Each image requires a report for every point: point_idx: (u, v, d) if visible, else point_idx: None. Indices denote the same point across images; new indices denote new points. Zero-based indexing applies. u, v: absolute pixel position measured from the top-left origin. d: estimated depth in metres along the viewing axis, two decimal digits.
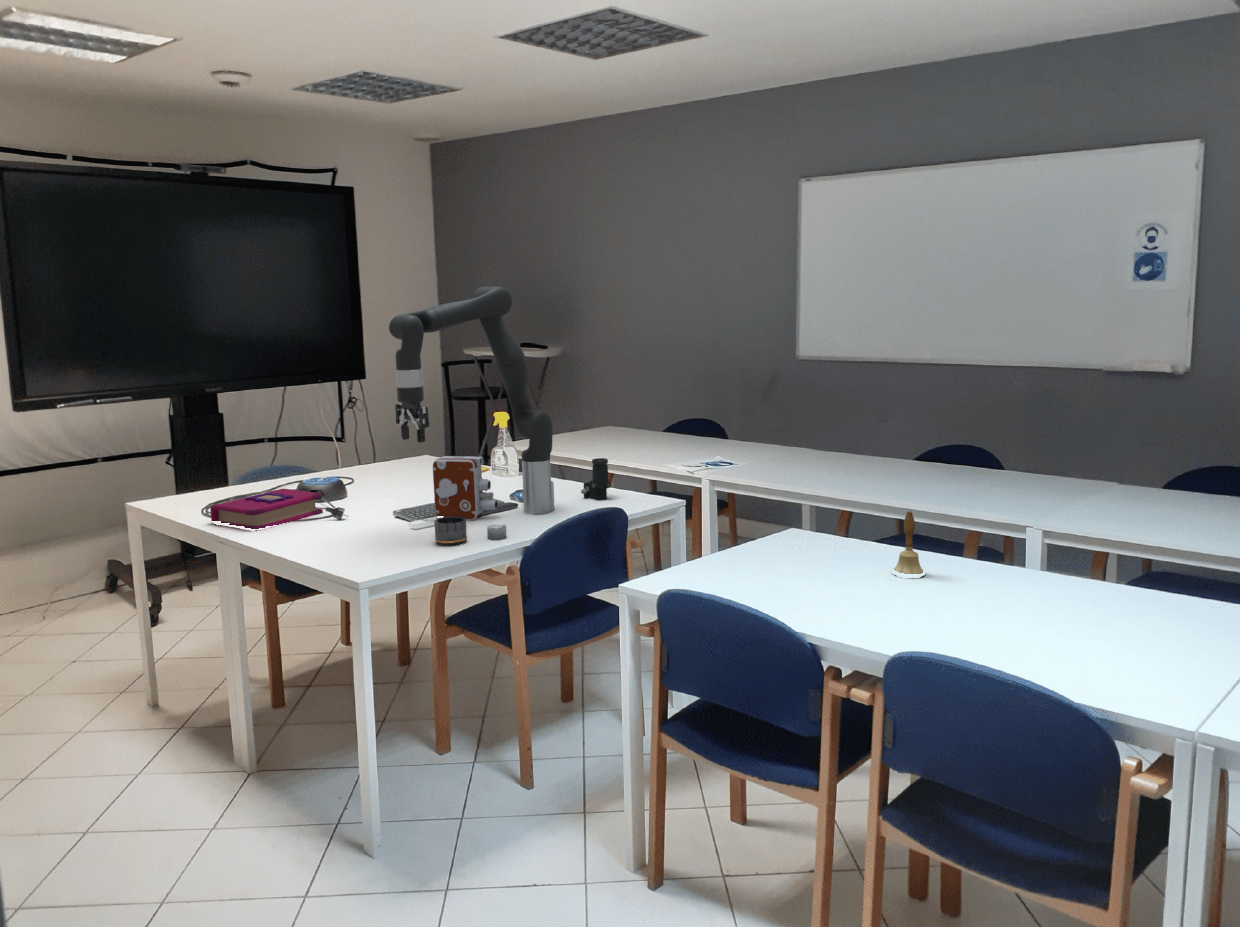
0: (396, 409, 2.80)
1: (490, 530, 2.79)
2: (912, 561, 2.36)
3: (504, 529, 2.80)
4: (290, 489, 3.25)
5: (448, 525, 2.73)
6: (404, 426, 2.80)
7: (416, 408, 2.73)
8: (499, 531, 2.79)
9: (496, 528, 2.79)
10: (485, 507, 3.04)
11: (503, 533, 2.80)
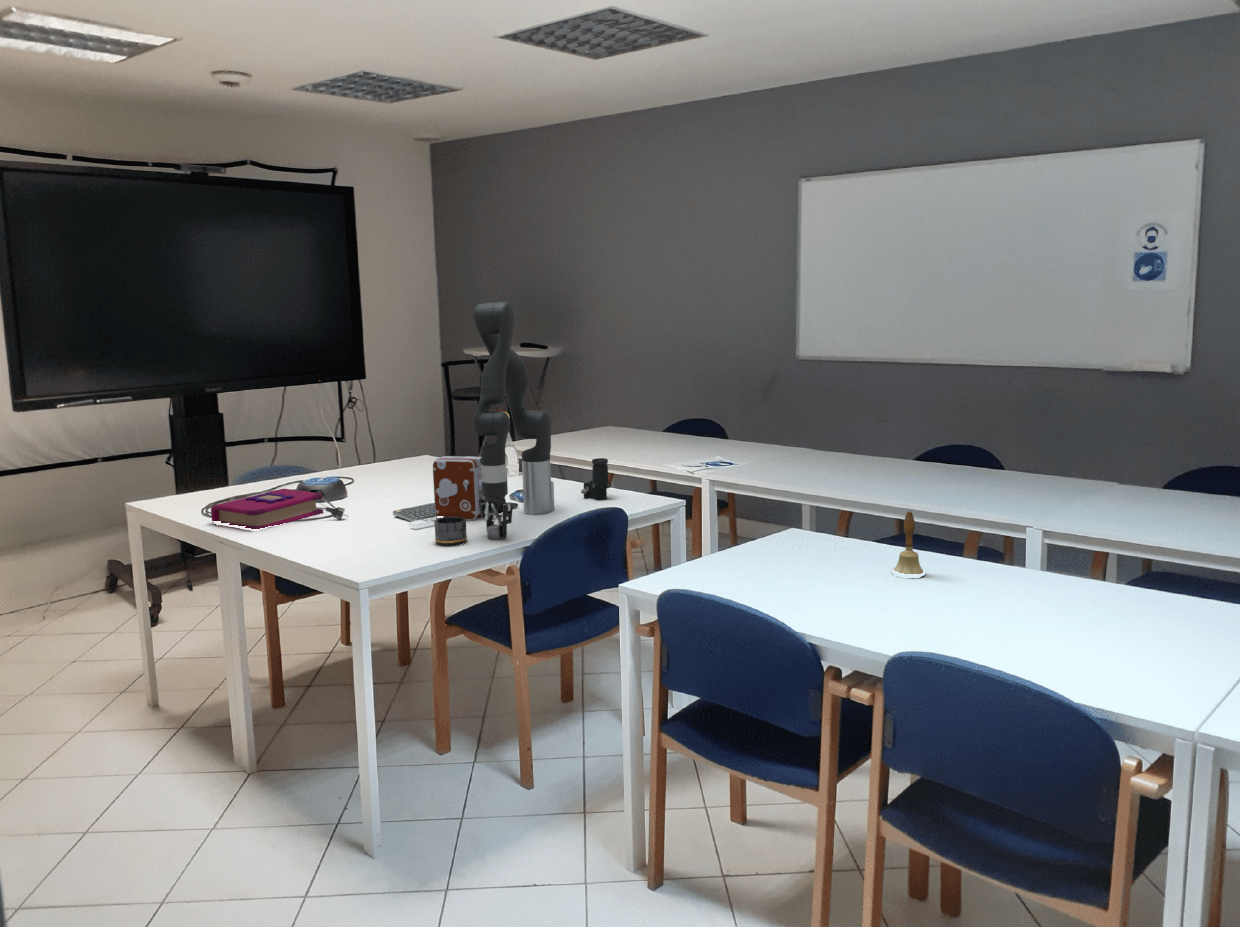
0: (480, 504, 2.84)
1: (490, 530, 2.79)
2: (912, 561, 2.36)
3: None
4: (290, 489, 3.25)
5: (448, 525, 2.73)
6: (489, 521, 2.83)
7: (501, 503, 2.76)
8: None
9: (496, 528, 2.79)
10: None
11: None
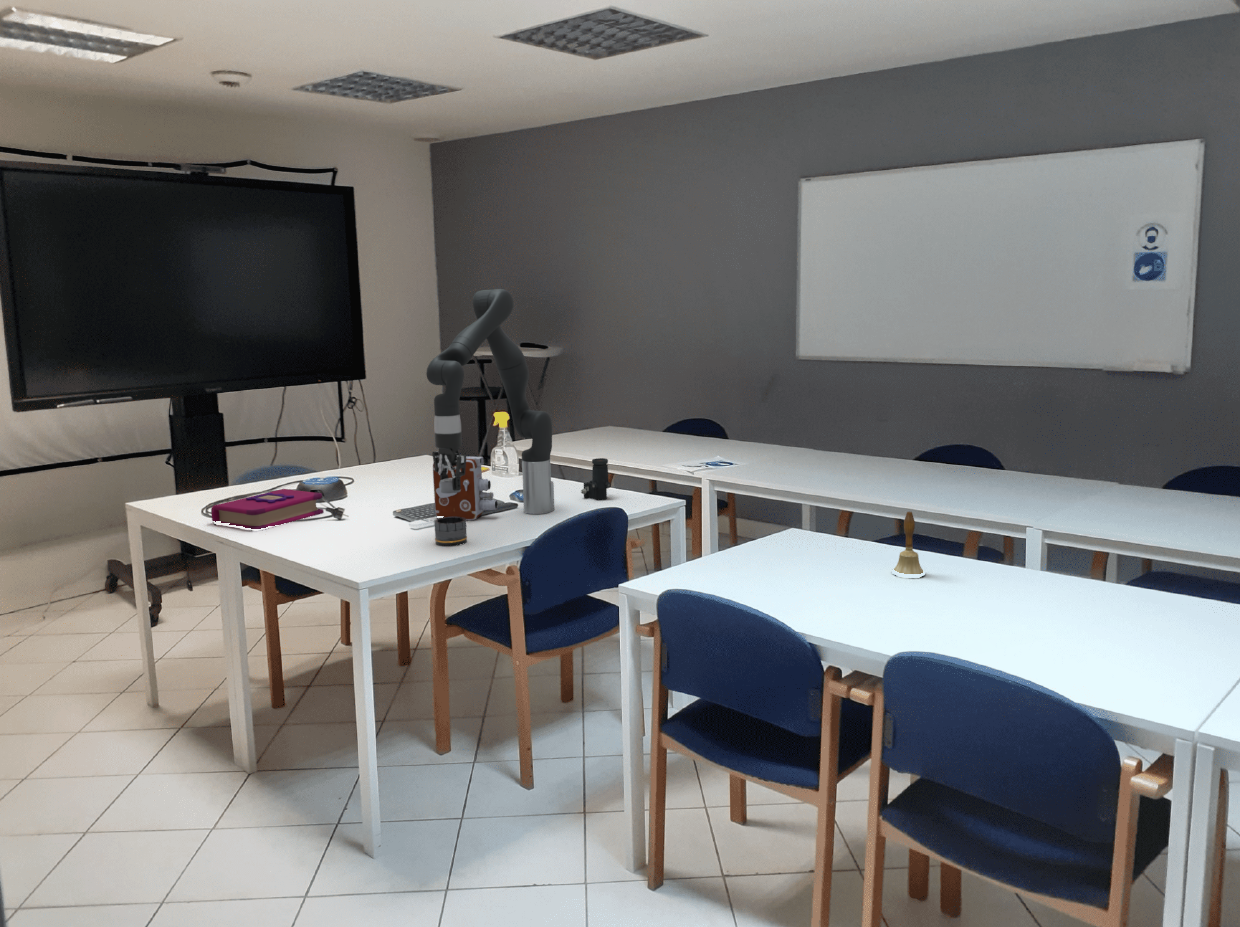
0: (434, 457, 2.77)
1: (443, 482, 2.72)
2: (912, 561, 2.36)
3: None
4: None
5: (448, 525, 2.73)
6: (443, 474, 2.76)
7: (454, 455, 2.70)
8: (452, 484, 2.72)
9: (449, 481, 2.72)
10: (485, 507, 3.04)
11: None
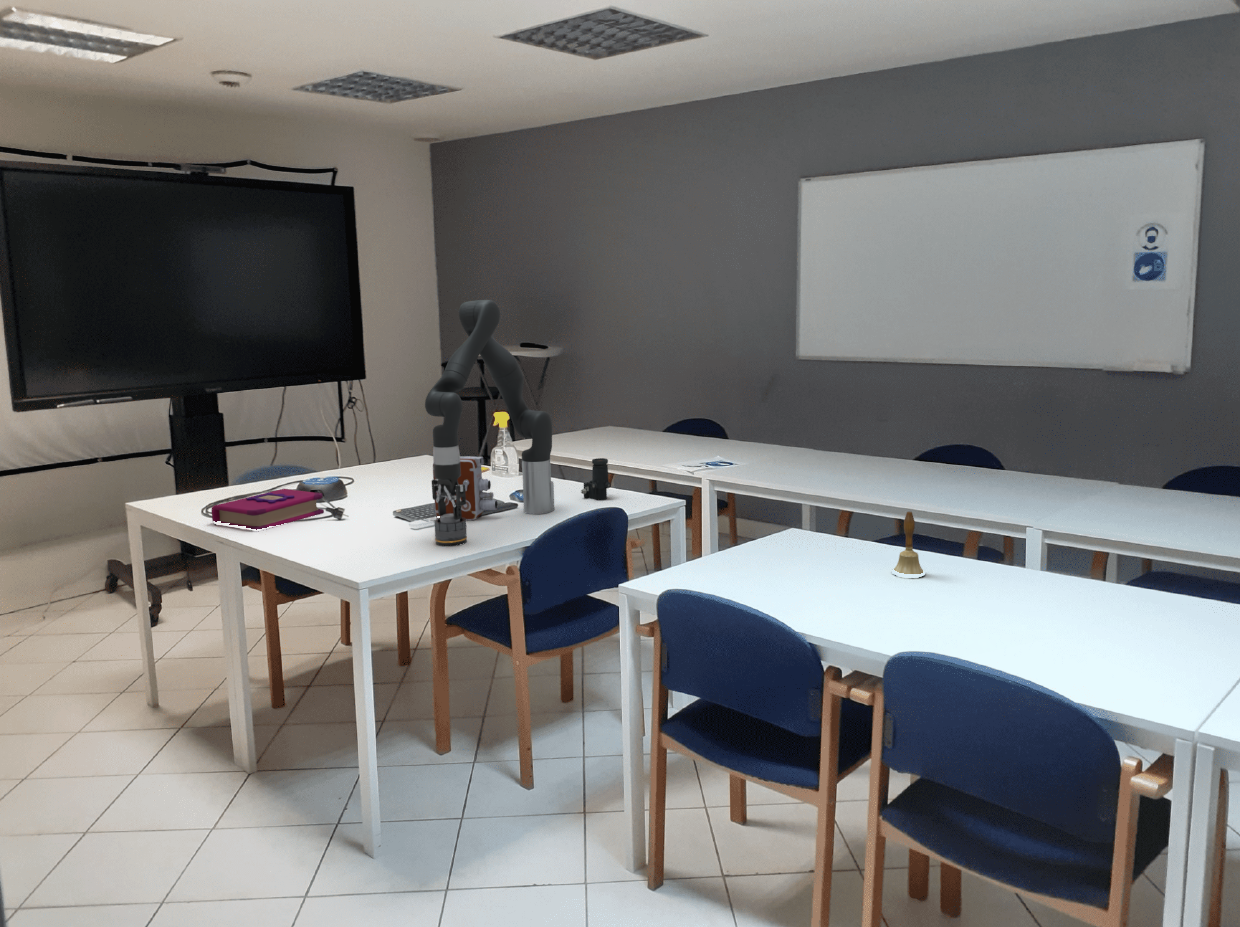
0: (432, 485, 2.79)
1: (443, 519, 2.74)
2: (912, 561, 2.36)
3: None
4: (290, 489, 3.25)
5: (448, 525, 2.73)
6: (441, 502, 2.79)
7: (453, 485, 2.71)
8: (452, 520, 2.74)
9: (449, 517, 2.75)
10: (485, 507, 3.04)
11: (456, 522, 2.75)
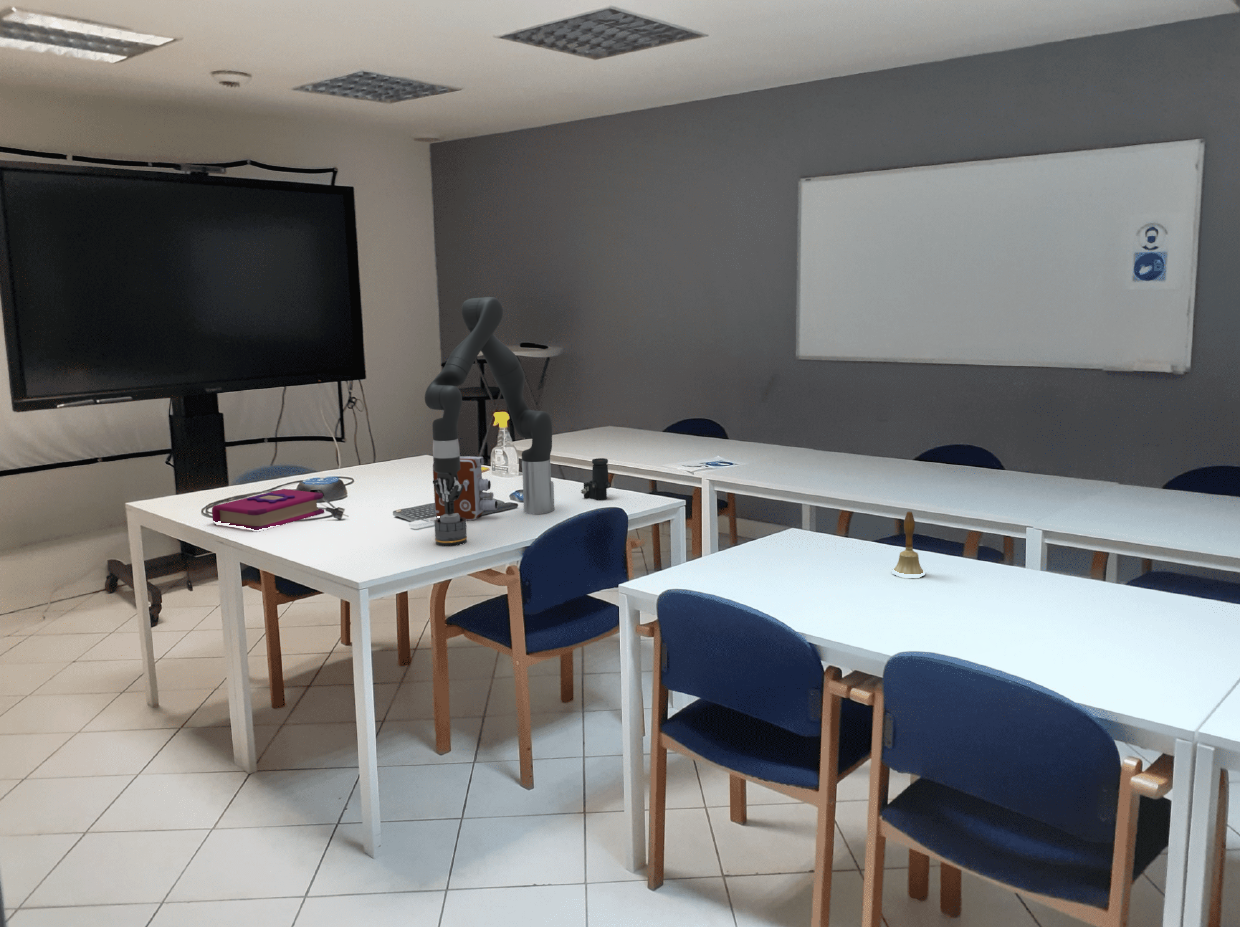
0: (435, 485, 2.78)
1: (443, 519, 2.74)
2: (912, 561, 2.36)
3: (457, 518, 2.76)
4: (290, 490, 3.25)
5: (448, 525, 2.73)
6: None
7: (453, 481, 2.71)
8: (452, 520, 2.74)
9: (449, 517, 2.75)
10: (485, 507, 3.04)
11: (456, 522, 2.75)
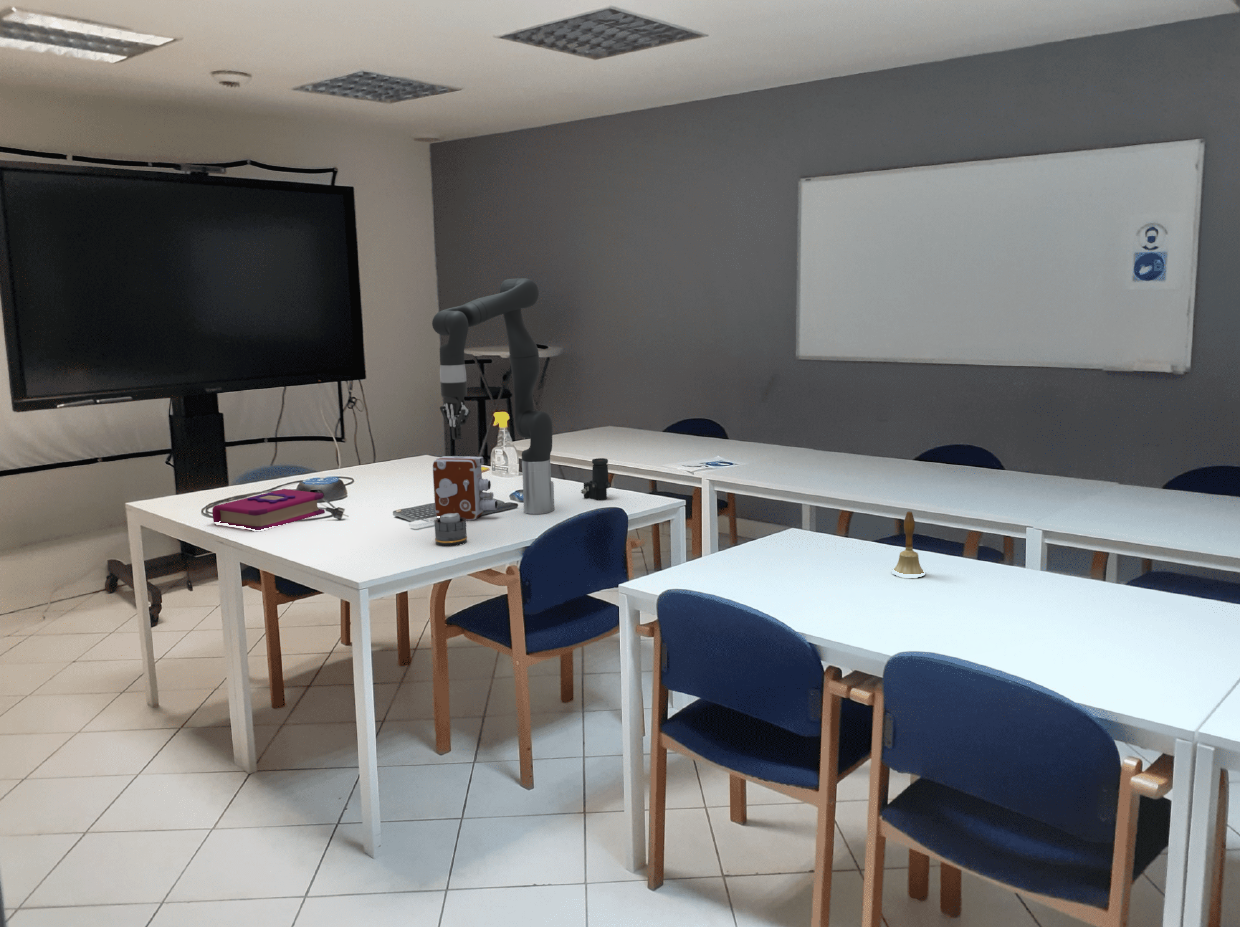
0: (442, 411, 2.82)
1: (443, 519, 2.74)
2: (912, 561, 2.36)
3: (457, 518, 2.76)
4: (291, 490, 3.25)
5: (448, 525, 2.73)
6: None
7: (460, 405, 2.76)
8: (452, 520, 2.74)
9: (449, 517, 2.75)
10: (485, 507, 3.04)
11: (456, 522, 2.75)
